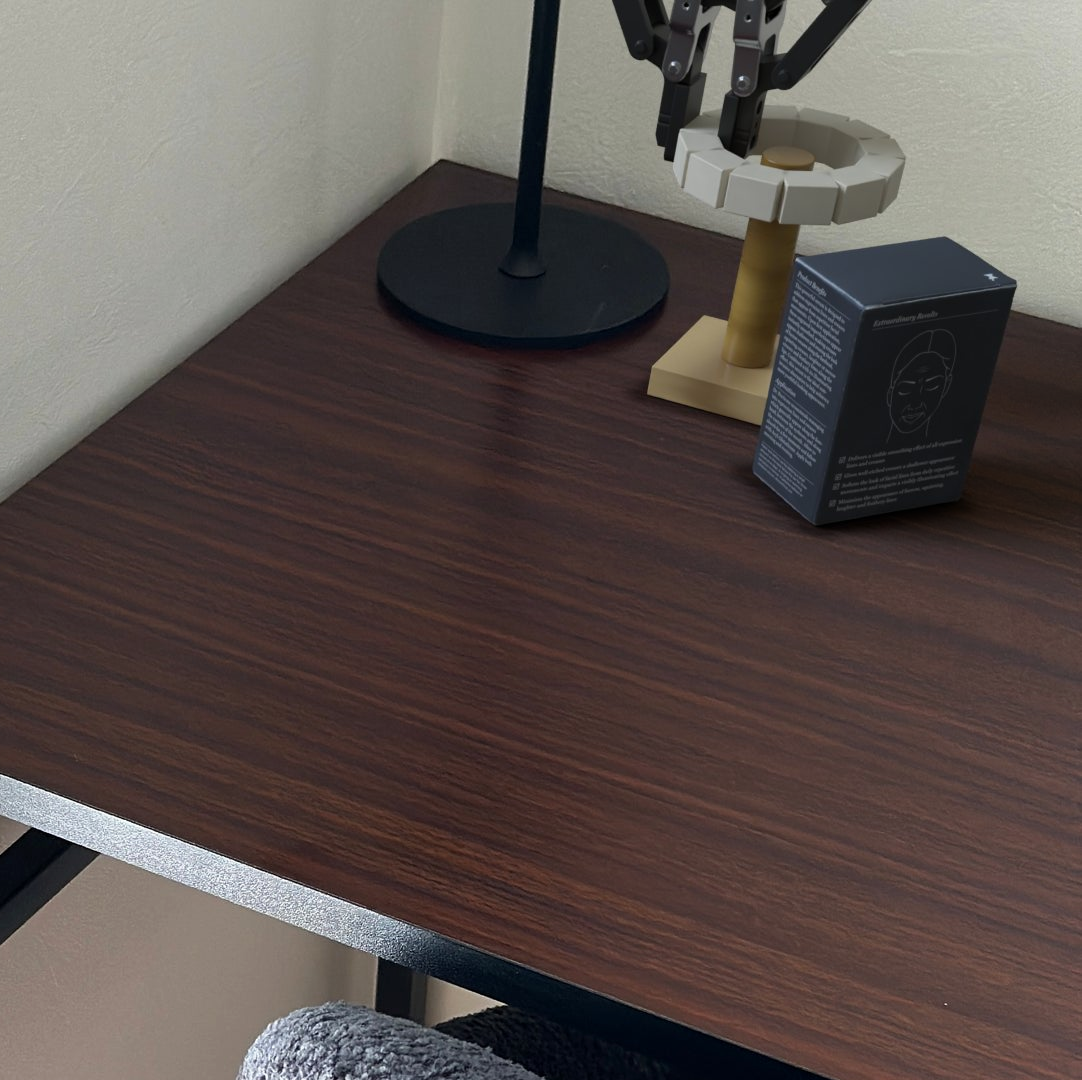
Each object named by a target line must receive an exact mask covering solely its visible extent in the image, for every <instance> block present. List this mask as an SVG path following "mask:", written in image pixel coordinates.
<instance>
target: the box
mask: <svg viewBox="0 0 1082 1080" xmlns="http://www.w3.org/2000/svg"><path fill="white" fill-rule="evenodd" d="M791 277H792V278H791V283H790V286H789V291H788V296H787V301H786V305H785V311H784V315H783V322H782V325H781V329H780V334H779V335H780V338H779V344H778V348H777V353H776V357H775V362H774V367H773V372H772V377H771V381H770V386H769V391H768V396H767V400H766V404H765V410H764V414H763V419H762V424H761V426H760V429H759V433H758V438H757V443H756V448H755V453H754V458H753V462H752V467H751V470H752V471H753V474H754V475H755V476H756V477H758V478H759V479H760V481H761V482H762V483H764V484H766V485H767V487H769V488H770V489H771V490H772V491H773V492H774V493H776V495H778V496H779V497H781V499H783V500H784V501H785V502H786V503H787V504H788V505H789V506H791V507H792V509H794V510H795V511H796V512H797V513H799V514H800V515H801V516H802V518H803V519H805V520H807V522H809V523H811V524H812V525H813V526H822V525H827V524H832V523H837V522H843V521H849V520H854V519H860V518H864V517H872V516H877V515H880V514H881V515H883V514H887V513H893V512H898V511H904V510H909V509H916V508H921V507H927V506H933V505H937V504H938V505H939V504H944V503H945V504H946V503H950V502H957V501H959V500H960V499H961V497H962V495H963V489H964V485H965V483H966V482H965V481H966V478H967V474H968V471H969V468H970V464H971V461H972V460H971V459H972V456H973V452H974V448H975V445H976V441H977V438H978V434H979V430H980V426H981V423H982V418H983V415H984V412H985V407H986V404H987V400H988V395H989V392H990V387H991V385H992V381H993V378H994V374H995V370H996V367H997V362H998V359H999V356H1000V351H1001V347H1002V344H1003V341H1004V336H1005V332H1006V328H1007V324H1008V321H1009V317H1010V315H1011V314H1010V313H1011V309H1012V306H1013V302H1014V297H1015V294H1016V292H1017V288H1018V282H1017V279H1015V278H1013V277H1011V276H1009V275H1007V274H1005V273H1004V272H1002V271H1001V270H999V268H996V267H995V266H993V265H992V264H990V263H989V262H987V261H986V260H985V259H983V258H982V257H981V256H979V255H977V254H975V253H974V252H973V251H971V250H970V249H968V248H966V247H964V246H963V245H962V244H960V243H958V242H956V241H954V240H953V239H952V238H950V237H948V236H945V235H943V236H936V237H929V238H922V239H916V240H909V241H902V242H895V243H889V244H882V245H881V244H880V245H875V246H869V247H860V248H853V249H847V250H839V251H834V252H827V253H826V252H825V253H819V254H813V255H805V256H799V257H796V258H795V261H794V266H793V272H792V276H791Z"/></svg>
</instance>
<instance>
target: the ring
mask: <svg viewBox="0 0 1082 1080" xmlns="http://www.w3.org/2000/svg"><path fill="white" fill-rule="evenodd" d="M721 113H722V108H716V109H713V110H707V111H703V112H702V113H701V114H700V115H698V116H697V117H696V118H695V119H694V120H692V121H691V122H690V123H689V124H688V125H686V126H685V127H684V128H683V129H680V133H679V135H678V141H677V147H676V152H675V158H674V163H672V164H673V165H672V171H673V173H674V176H675V178H676V181H677V183H678V186H679V188H680V189H683V192H684V193H686V194H688V195H689V196H691V197H692V198H695V199H696V200H698V201H700V202H702V203H704V204H706V205H708V206H709V207H711V208H713V209H714V210H716V209H718V210H719V209H722V212H724V213H727V214H731V215H737V216H739V217H740V216H741V217H745V218H748V219H749V218H753V219H757V220H761V221H766V222H772V221H773V220H774V219H775V218H776V217H777V219H778V222H779V224H794V225H801V226H826V227H827V226H831V224H832V223H834V224H835V225H837V226H840V225H845V224H850V223H853V222H858V221H864V220H867V219H871V218H876V217H877V216H878V214H883V213H884V212H885V211H886V210H887V209H888V208H889V207H890V206H891V204H893V202H894V201H895V200H897V198H898V194H899V190H900V188H901V187H900V186H901V182H902V179H903V174H904V170H905V165H906V160H907V157H906V155H905V153H904V152H903V149H902V147H901V146H900V145H899V143H898V141H897V140H896V138H892V137H891V135H890V134H889V133H887V132H885V131H883V130H881V129H878V128H876V127H874V126H872V125H870V124H868V123H866V122H864V121H862V120H860V119H858V118H857V119H851V117H850V116H847V115H842V114H837V113H833V112H829V111H825V110H820V109H814V108H810V107H807V106H806V107H804V106H803V108H801V109H800V110H798V108H797V106H796V105H779V104H764V109H763V114H762V119H761V124H760V129H759V133H758V134H759V135H758V140H757V145H756V147H755V148H754V150H753V151H752V153H751V155H750V156H749V157H752V156H759V157H760V156H761V157H762V153H763V151H764V150H766V149H767V148H771V147H777V146H788V147H795V148H799V149H803V150H806V151H808V152H810V153H811V154H813V155H814V157H815V163H818V164H822V165H825V166H827V167H829V168H831V170H825V171H814V170H813V171H785V170H781V169H776V168H772V167H768V166H763V165H760V163H759V164H758V163H754V162H750V161H749V160H746V159H745V160H744V159H742V158H740V157H739V156H737V155H735V154H733V153H731V152H729V151H727V150H725V149H724V147H723V145H722V143H721V141H720V138H719V137H718V136H717V134H718V129H719V123H720V118H721Z"/></svg>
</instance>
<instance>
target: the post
mask: <svg viewBox="0 0 1082 1080" xmlns="http://www.w3.org/2000/svg"><path fill="white" fill-rule="evenodd" d="M815 163H816V162H815V157H814V155H813V154H811V153H810V152H808V151H806V150H803V149H799V148H795V147H788V146H777V147H771V148H767V149H766V150H764V151H763V153H762V156H761V158H760V162H759V165H763V166H768V167H772V168H776V169H781V170H785V171H814V168H815ZM801 227H802V225H794V224H779V222H778V219H777V217H776V218H775V219H774V220H773V221H772V222H766V221H761V220H757V219H753V218H749V217H748V221H747V226H746V231H745V236H744V241H743V247H742V250H741V257H740V259H739V260H740V261H739V266H738V270H737V274H736V275H737V276H736V280H735V286H734V290H733V295H732V299H731V305H730V310H729V314H728V320H726V319H725V320H724V319H721V318H716V317H714V316H710V315H705V314H704V315H702V316H701V317H700V319H698V320H697V321H696V322H695V323H694V325H692V326H691V327H690V328H689V330H688V331H686V332H685V333H684V334H683V335H682V336H681V337H680V338H679V339H678V340H677V341H676V343H674V344H673V345H672V346H671V347H670V348H669V349H668V350H667V351H666V352H665V353H664V354H663V355H662V356H661V357H660V358H659V359H658V360H657V361H656V362H655V363H654V364H653V365H652V366H651V370H650V376H649V382H648V387H647V393H646V394H647V395H648V396H651V397H654V398H658V399H662V400H665V401H670V402H674V403H677V404H680V405H685V406H688V407H692V408H696V409H699V410H703V411H706V412H710V413H713V414H716V415H721V416H723V417H724V416H725V417H728V418H731V419H735V420H739V421H742V422H745V423H750V424H753V425H757V426H760V427H761V424H762V419H763V414H764V410H765V404H766V400H767V396H768V391H769V386H770V381H771V377H772V372H773V367H774V362H775V357H776V353H777V348H778V344H779V338H780V334H778V332H779V327H780V323H781V318H782V314H783V309H784V306H785V305H784V304H785V301H786V296H787V292H788V286H789V283H790V282H789V281H790V277H791V273H792V269H793V265H794V259H795V254H796V250H797V245H798V241H799V240H798V239H799V236H800V231H801Z"/></svg>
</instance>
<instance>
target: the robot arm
mask: <svg viewBox="0 0 1082 1080" xmlns="http://www.w3.org/2000/svg"><path fill="white" fill-rule="evenodd" d="M820 1H821V3H822V4H823V5H824V6H825V7H824V8H823V9H822V11H821V12H820V13H819V14H818V15H817V17H816V18H815V19H813V21H812V22H811V23H810V25H809V26H808V27H807V28H806V29H805V30H804V32H803V33H802V34H801V35H800V37H799V38H797V40H796V41H795V42H794V43H793V45H792V46H791V47H790V49H789V50H788V51H787V52H781V53H778V46H779V38H780V33H781V31H782V28H783V25H784V23H785V19H786V10H787V5H788V0H673V3H672V7H671V12H670V17H669V15H668V12H667V10H666V6H665V3H664V0H611V2H612V5H613V8H614V11H615V15H616V18H617V21H618V23H619V26H620V29H621V32H622V36H623V38H624V41H625V44H626V47H627V51H628V53H629V55H630V56H631V58H632V59H634V60H636V61H639V62H641V61H648V62H649V63H651V64H652V65H654V66H655V67H656V68H658V69H659V70H660V72H661V74H662V77H663V87H662V93H661V98H660V105H659V111H658V116H657V123H656V128H655V134H654V135H655V141H656V145H657V147H661V148H664V151H663V161H665V162H669V163H672V164H674V158H675V152H676V147H677V141H678V135H679V133H680V129H683V128H684V127H685V126H686V125H688V124H689V123H690V122H691V121H692V120H694V119H695V118H696V117H697V116H698V115H701V109H702V105H703V98H704V93H705V88H706V87H705V86H706V83H707V77H708V73H707V72H702V70H703V69H702V68H703V64H704V62H705V60H706V57H707V54H708V49H709V45H710V41H711V38H712V34H713V30H714V29H713V28H714V25H715V21H716V19H717V18H718V16H719V14H720V12H721V9H722V7H724V8H727V9H728V10H731V11H733V12H735V13H734V21H733V28H732V29H733V30H732V42H733V43H734V52H733V57H732V60H733V61H732V68H731V75H730V88H731V89H729V91H727V92H726V93H725V94H724V96H723V102H722V107H721V109H722V113H721V118H720V123H719V129H718V134H717V136H718V137H719V138H720V141H721V143H722V145H723V147H724V149H725V150H727V151H729V152H731V153H733V154H735V155H737V156H739V157H740V158H742V159H744V160H746V159H747V158H749V157H751V156H750V155H751V153H752V151H753V150H754V148H755V147H756V145H757V140H758V135H759V134H758V133H759V129H760V124H761V119H762V114H763V109H764V105H766V104H765V103H766V99H767V94H768V92H769V91H773V90H780V91H788V90H791V89H792V88H794V87H795V86H796V85H797V84H798V83H799V82H801V81H802V80H803V79H804V78H805V77H807V76H808V75H809V74H811V72H812V71H813V70H814V69H815V67H816V66H817V65H818V64H819V63H820V62H821V61H822V59H823V58H824V57H825V56H826V55H827V54H828V52H830V50H831V49H832V48H833V46H834V45H835V44H836V43H837V42H838V40H839V39H840V38H842V36H843V35H844V34H845V33H846V32H847V30H848V29H849V28H850V27H851V26H852V24H853V23H854V22H855V21H856V20H857V18H858V17H859V16H860V15H861V14H862V13H863V11H865V9H866V8H867V7H868V6H869V5H870V4H871V2H872V1H873V0H820Z"/></svg>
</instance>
